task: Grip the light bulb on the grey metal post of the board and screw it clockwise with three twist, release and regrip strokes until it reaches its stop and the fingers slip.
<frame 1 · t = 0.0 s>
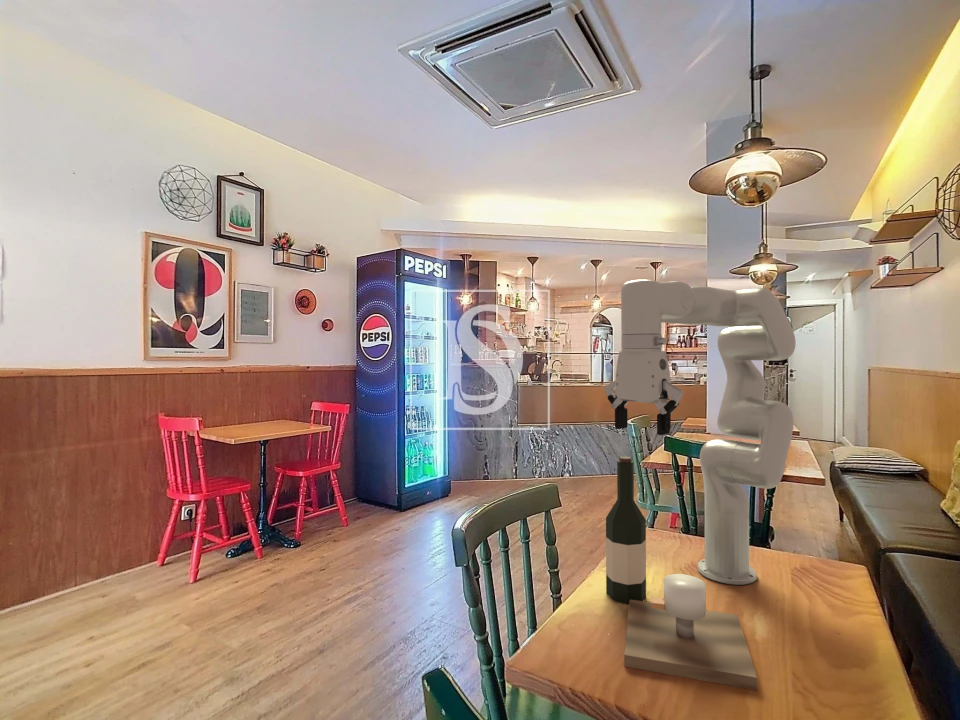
hand: (641, 431, 102), 37 cm above the table, tool pointing down, fingers open, 9 cm apart
post board: (684, 644, 93), on the table
light bulb: (678, 595, 94), point 9 cm above the table, hinge at 0.0°
wine bottle: (626, 596, 112), on the table
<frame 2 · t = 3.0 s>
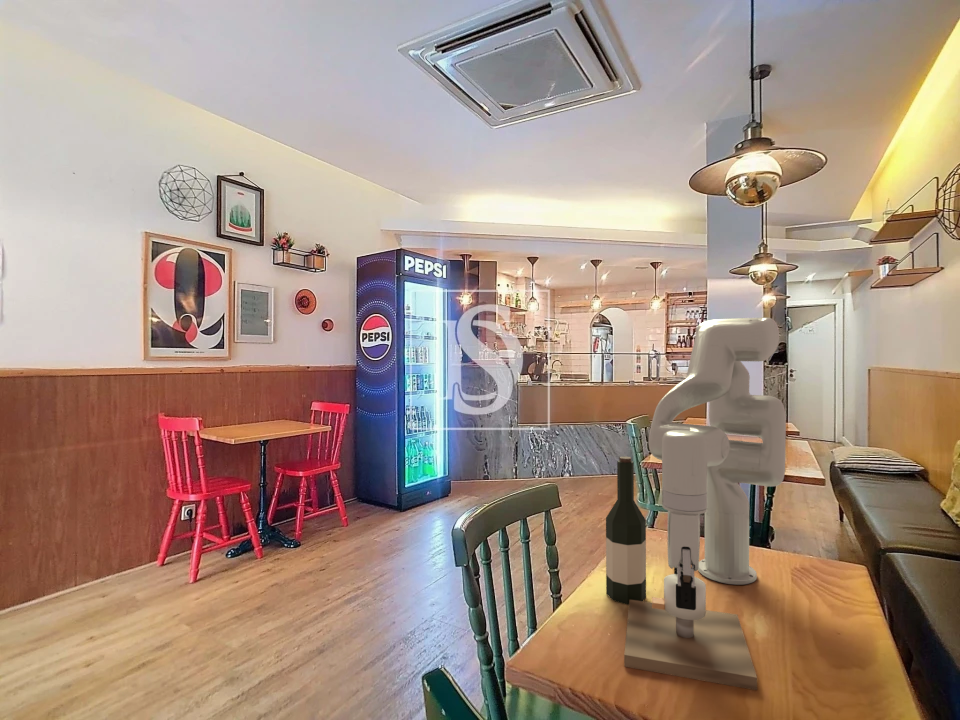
hand: (684, 597, 93), 9 cm above the table, tool pointing down, fingers closed on light bulb, 7 cm apart
light bulb: (678, 595, 94), point 9 cm above the table, hinge at 0.0°, touching gripper
everything else where it was.
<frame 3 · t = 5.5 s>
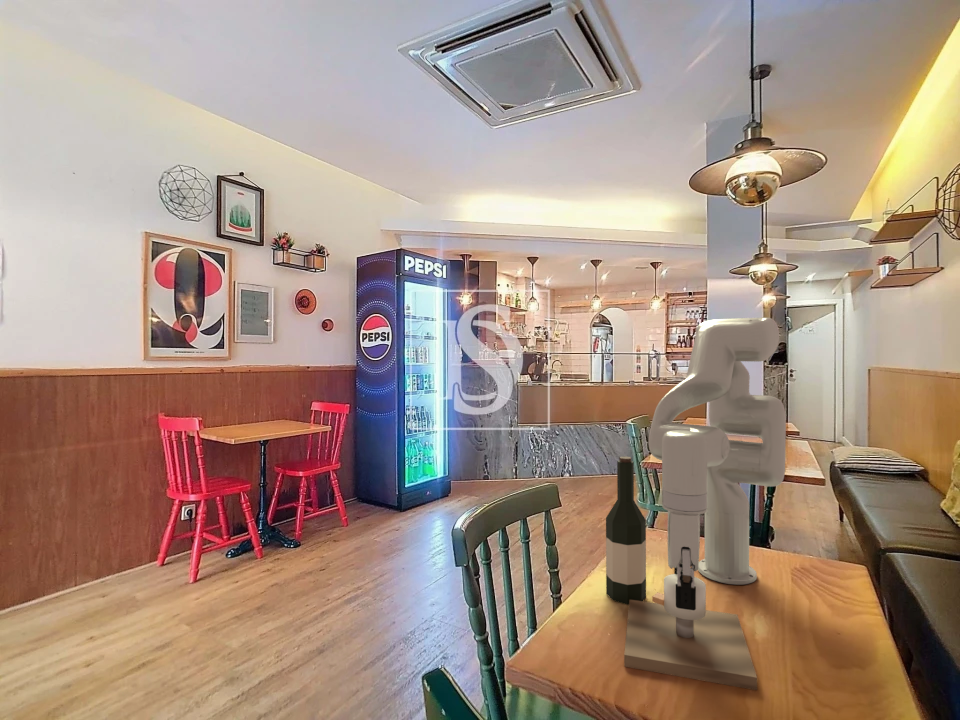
hand: (684, 597, 93), 9 cm above the table, tool pointing down, fingers closed on light bulb, 7 cm apart
light bulb: (678, 594, 94), point 9 cm above the table, hinge at 25.2°, touching gripper
everything else where it was.
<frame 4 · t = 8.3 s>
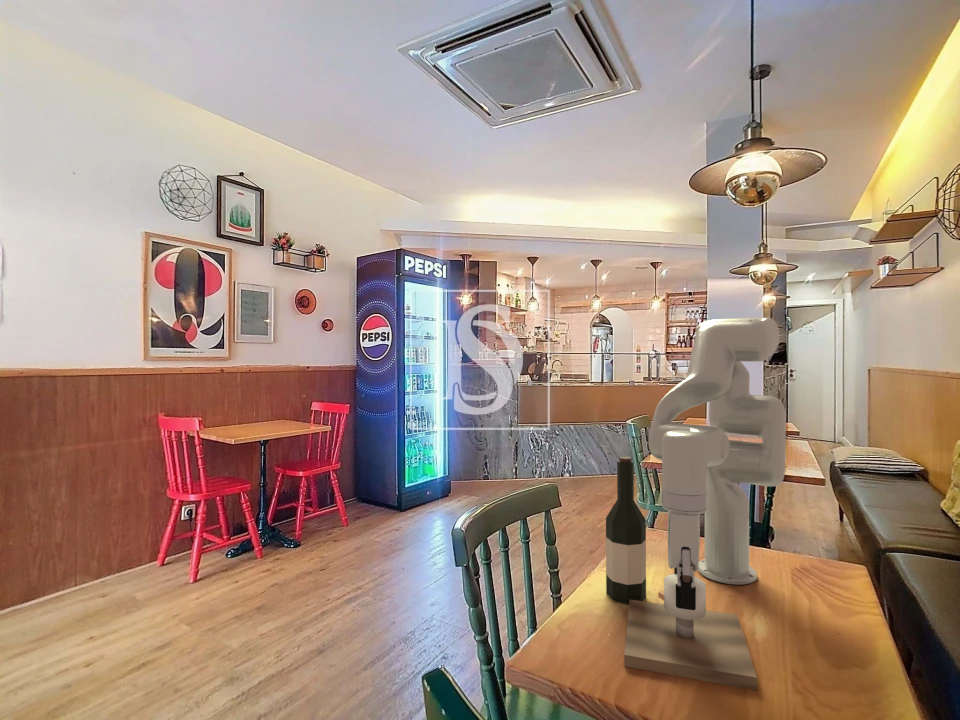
hand: (684, 597, 93), 9 cm above the table, tool pointing down, fingers closed on light bulb, 7 cm apart
light bulb: (680, 593, 94), point 9 cm above the table, hinge at 49.8°, touching gripper
everything else where it was.
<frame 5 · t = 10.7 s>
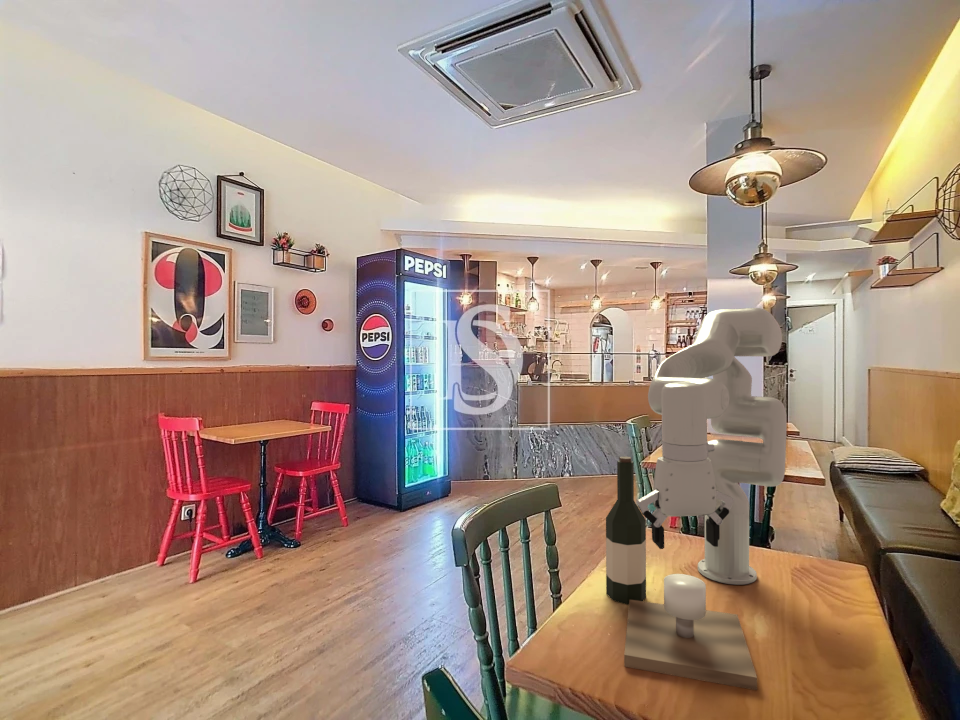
hand: (685, 544, 94), 18 cm above the table, tool pointing down, fingers open, 9 cm apart
light bulb: (682, 593, 94), point 9 cm above the table, hinge at 73.5°
everything else where it was.
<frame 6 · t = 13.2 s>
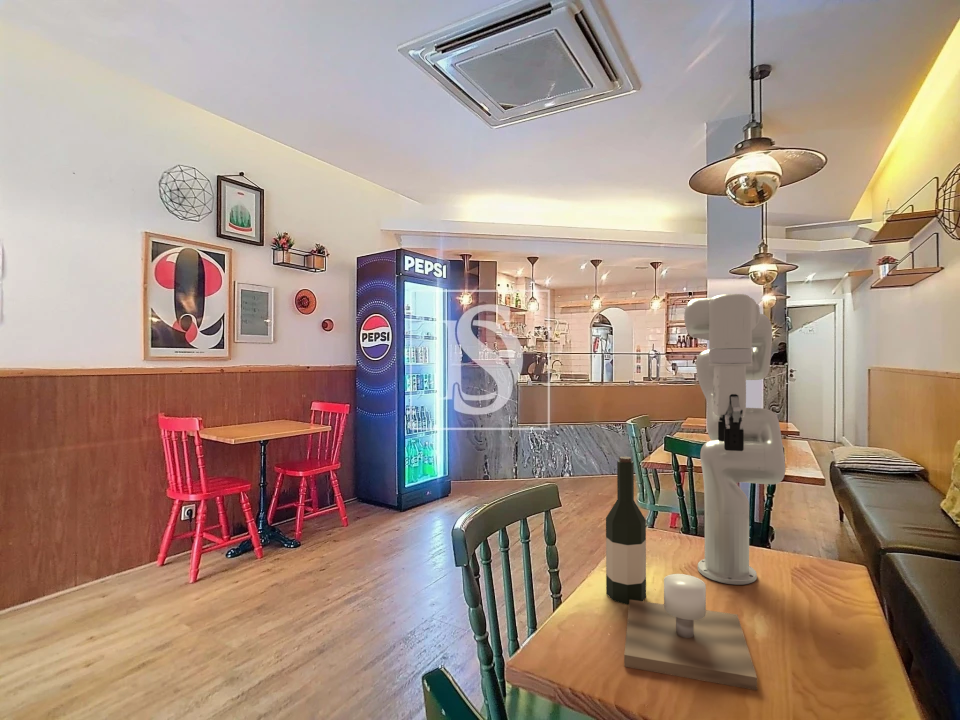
hand: (730, 445, 101), 34 cm above the table, tool pointing down, fingers open, 9 cm apart
light bulb: (682, 593, 94), point 9 cm above the table, hinge at 74.2°
everything else where it was.
at the end: light bulb at +74° (first picture: +0°); wine bottle moved 0.2 cm from its start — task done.
